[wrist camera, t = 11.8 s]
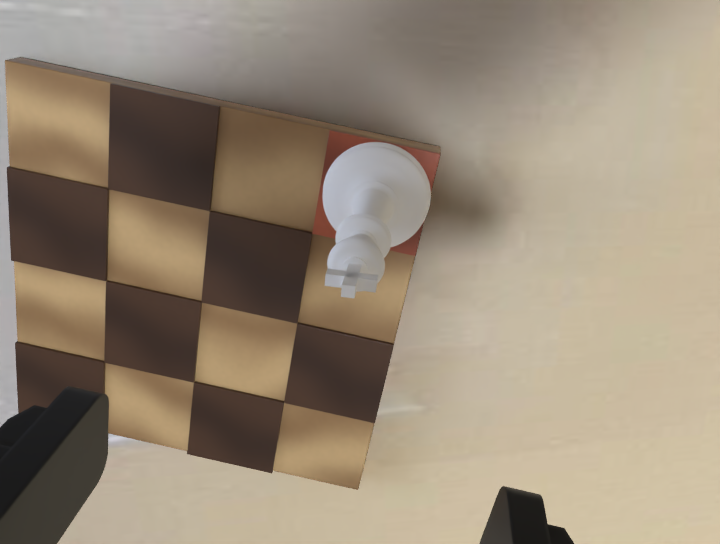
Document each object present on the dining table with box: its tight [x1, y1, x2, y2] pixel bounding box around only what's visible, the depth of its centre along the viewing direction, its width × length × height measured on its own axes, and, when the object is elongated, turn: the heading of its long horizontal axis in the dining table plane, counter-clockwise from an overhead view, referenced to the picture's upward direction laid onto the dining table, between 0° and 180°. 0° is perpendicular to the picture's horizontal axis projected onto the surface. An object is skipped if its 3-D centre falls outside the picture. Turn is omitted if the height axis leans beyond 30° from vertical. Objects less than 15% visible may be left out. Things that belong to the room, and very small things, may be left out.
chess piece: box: [322, 142, 431, 298], centre depth 25 cm, size 5×5×10 cm
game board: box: [5, 57, 440, 490], centre depth 34 cm, size 20×20×1 cm
